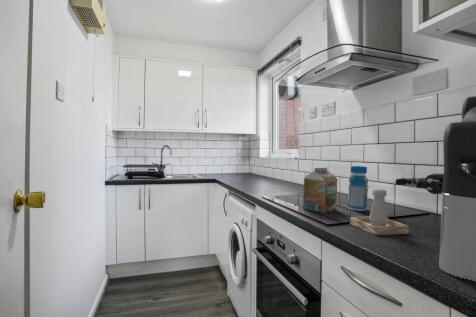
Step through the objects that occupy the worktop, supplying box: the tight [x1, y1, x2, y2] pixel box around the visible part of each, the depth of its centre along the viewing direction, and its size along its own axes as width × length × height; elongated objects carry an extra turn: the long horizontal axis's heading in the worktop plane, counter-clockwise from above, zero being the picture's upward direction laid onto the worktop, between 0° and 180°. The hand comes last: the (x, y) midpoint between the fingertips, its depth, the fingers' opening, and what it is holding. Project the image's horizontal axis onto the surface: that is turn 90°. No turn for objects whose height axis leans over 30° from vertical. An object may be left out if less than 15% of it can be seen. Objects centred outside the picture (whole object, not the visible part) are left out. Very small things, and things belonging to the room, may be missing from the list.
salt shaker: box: [368, 188, 389, 226], centre depth 88 cm, size 6×6×13 cm
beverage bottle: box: [347, 165, 369, 212], centre depth 118 cm, size 8×8×20 cm
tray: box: [349, 216, 410, 236], centre depth 88 cm, size 13×13×2 cm
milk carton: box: [302, 167, 338, 214], centre depth 117 cm, size 11×11×19 cm
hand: (406, 183), depth 90 cm, fingers open, 8 cm apart
